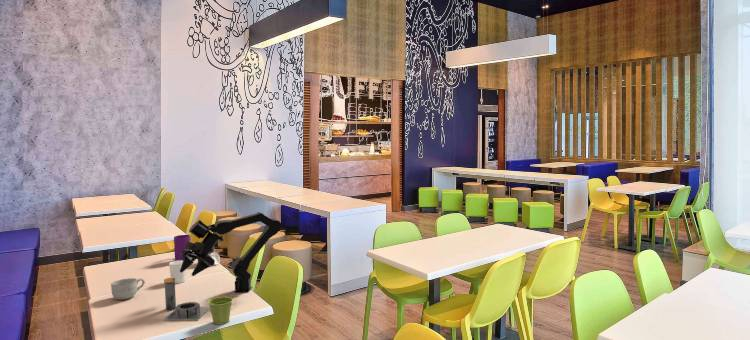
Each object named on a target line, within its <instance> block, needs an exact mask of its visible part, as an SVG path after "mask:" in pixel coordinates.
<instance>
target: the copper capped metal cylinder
mask: <svg viewBox="0 0 750 340" xmlns="http://www.w3.org/2000/svg"><path fill="white" fill-rule="evenodd" d="M163 283H164V296H165V300H164V301H165V310H166V311H174V310H175V307H176V306H177V301H176V300H177V298H176V283H175V278H171V277H167V278H165V279H163Z"/></svg>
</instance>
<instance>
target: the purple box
mask: <svg viewBox="0 0 750 340" xmlns="http://www.w3.org/2000/svg"><path fill="white" fill-rule="evenodd" d="M186 242H191V235H189V234H179V235H178V234H177V235H175V236H174V237H173V247H174V261H179V260H183V257H182V254H181V253H182V251H183V250H185V245H186ZM187 250H189V249H187ZM190 251H191V250H190Z"/></svg>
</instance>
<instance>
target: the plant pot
mask: <svg viewBox="0 0 750 340" xmlns="http://www.w3.org/2000/svg"><path fill="white" fill-rule="evenodd" d="M233 301H234V299H233V297H230V296H218V297H214V298H211V299H209V300H208V301H207V304H208V305H209V306H208V307H210V312H211V317H212V322H213V324H214V325H216V324H217V325H224V324H227V323H228V322H230V318H231V305H232V302H233Z"/></svg>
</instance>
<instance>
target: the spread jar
mask: <svg viewBox="0 0 750 340" xmlns="http://www.w3.org/2000/svg"><path fill="white" fill-rule="evenodd" d="M212 250H213V252H210V253H209V254H208V255H209V256H210V257H212V258H213V259H214V260H215V263H214V265H213V266H217V265H219V264H220V263H221V257H220V255H219V254H218V253H217V252H215V246H214V247H213V248H212Z"/></svg>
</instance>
